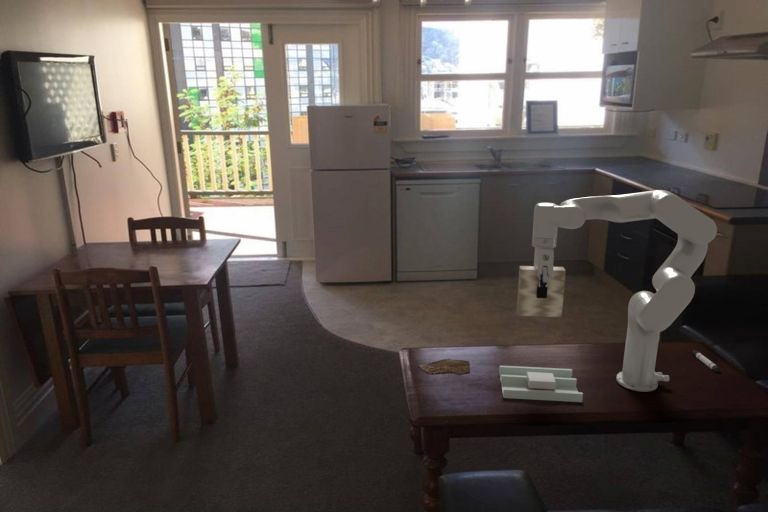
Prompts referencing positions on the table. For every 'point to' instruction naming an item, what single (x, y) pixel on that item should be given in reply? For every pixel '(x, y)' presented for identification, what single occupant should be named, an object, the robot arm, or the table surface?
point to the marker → (706, 361)
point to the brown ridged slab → (447, 366)
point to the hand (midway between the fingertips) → (540, 294)
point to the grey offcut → (541, 380)
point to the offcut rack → (516, 388)
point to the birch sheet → (528, 293)
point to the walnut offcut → (537, 388)
